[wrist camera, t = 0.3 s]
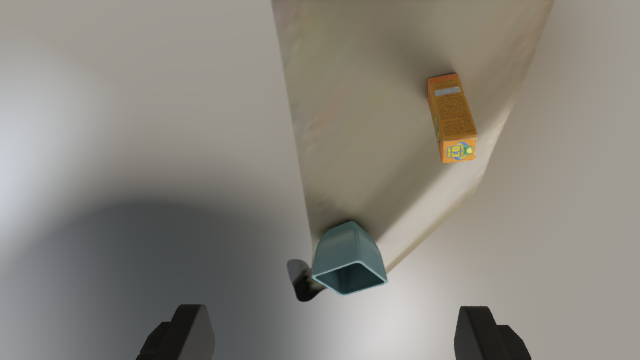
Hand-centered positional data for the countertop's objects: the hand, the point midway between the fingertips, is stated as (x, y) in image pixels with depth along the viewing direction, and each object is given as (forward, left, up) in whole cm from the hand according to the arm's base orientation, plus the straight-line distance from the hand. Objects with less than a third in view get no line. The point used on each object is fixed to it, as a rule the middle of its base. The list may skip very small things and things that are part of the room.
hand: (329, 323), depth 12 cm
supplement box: (+18, 0, -31) cm, 36 cm away
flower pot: (+32, -26, -31) cm, 52 cm away
